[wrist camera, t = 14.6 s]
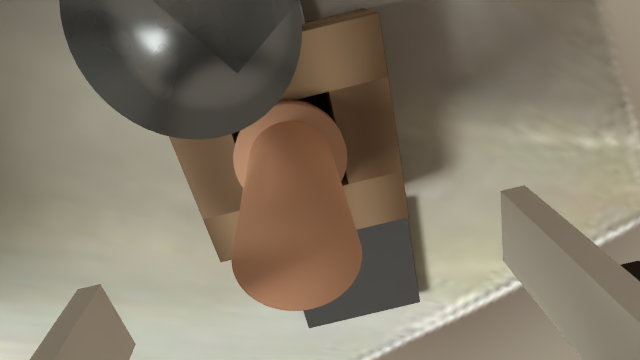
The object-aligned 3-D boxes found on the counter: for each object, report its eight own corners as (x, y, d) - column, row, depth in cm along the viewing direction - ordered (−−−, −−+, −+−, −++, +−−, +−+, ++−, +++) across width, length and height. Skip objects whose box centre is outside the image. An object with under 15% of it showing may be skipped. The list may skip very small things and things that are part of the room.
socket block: (227, 227, 29) (182, 445, 15) (130, -27, 22) (-118, -44, 8) (392, 188, 29) (495, 372, 15) (349, -81, 22) (469, -193, 8)
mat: (308, 319, 34) (309, 328, 33) (279, 228, 30) (279, 235, 29) (416, 293, 33) (419, 302, 32) (401, 198, 29) (405, 205, 29)
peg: (256, 181, 28) (238, 343, 15) (228, 95, 25) (179, 206, 13) (343, 160, 28) (396, 305, 15) (324, 72, 25) (369, 160, 13)
